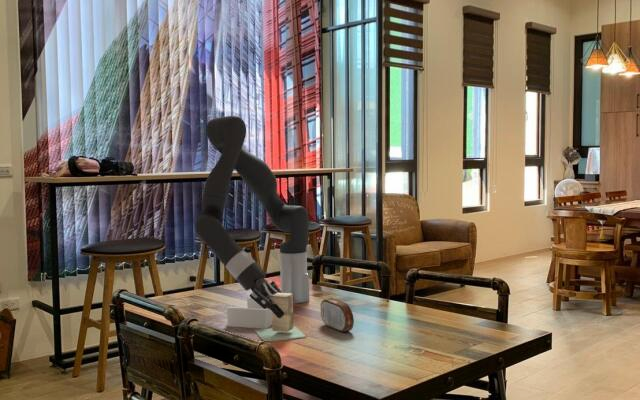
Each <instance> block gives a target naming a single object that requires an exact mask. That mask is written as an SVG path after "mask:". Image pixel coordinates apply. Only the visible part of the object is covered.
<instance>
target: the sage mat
mask: <svg viewBox="0 0 640 400" xmlns="http://www.w3.org/2000/svg"><path fill="white" fill-rule="evenodd" d="M254 332H255V333H256V335H257V336H258V338H259V339H260V340H261V341H262V340H263V341H268V342H278V341H285V340H286V341H287V340H296V339H306V338H307V336H306V335H305V334H304V333H303V332H302V331H301V330H300V329H299V328H298V327H296V326H295V325H293V329H291V330H290V331H288V332H280V331H273V327H272V328H270V327H268V328H267V329H260V328H258V329H254ZM263 341H262V342H263ZM268 342H267V343H268Z"/></svg>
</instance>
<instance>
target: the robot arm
mask: <svg viewBox="0 0 640 400" xmlns="http://www.w3.org/2000/svg"><path fill="white" fill-rule="evenodd" d="M205 133H206V137H207V139H208V141H209V142H210V144H211V145H212V146H213V147H214V149H216V150H217V151H218V153H219V154H220V157H219V158H218V160H217V162H216V164H215V165H214V166H213V168H212V170H211V171H210V172H209V174H208V177H207V178H206V181H205V184H204V187H203V191H202V197H201V212H200V216H199V217H198V218H196V220H195V222H194V223H195V224H194V231H195V233H196V235H197V239H199V241H201V242H202V243H204V244H206V245H207V246H208V247H209V248H210V249H211V250H212V252H213V253H214V255H215V256H216V257H217V259H218V260H219V261H220V263H221V264H223V266H224V267H225V268H226V269H227V270H228V272H229V274H230V275H231V276H232V277H233V278H234V279H235V280H236V281H237V282H238V284H239V285H240V286H241V287H242V288H243V290H245V291H250V290H251V293H249V297H251V298H252V299H253V300H254V301H255V302H257V303H258V304H259V305H260V306H261V307H263V308H264V309H266V308H268V309H270V310H271V311H272V312H273V313H274V314H275V315H276V316H277V317H278V318H281V317H282V316H283V315H284V312H283V311H282V310H281V309H280V307H279V306H278V305H277V304H275V302H274V300H273V299H272V296H273V295H275V294H276V293H293V304H301V303H307V302H310V274H309V273H308V263H307V262H308V261H307V260H308V259H307V258H308V257H307V256H308V255H307V254H308V253H307V251H308V250H307V247H308V243H309V227H310V226H309V225H310V222H309V221H310V220H309V219H310V218H309V212H308V210H307V208H305V207H304V206H302V205H287V204H286V203H284V201H283V200H282V199H281V198H280V196H279V194H278V181H277V178H276V175H275V174H274V172H273V171H272V170H271V168H270V167H269V165H268V164H267V163H266V161H264V160H263V159H261V158H259V157H258V156H256V155H254V154H253V153H251V152H250V151H247V149H245V148H243V146H244V143H245V139H246V137H247V125H246V122H245V121H244V120H243V118H242V117H240V116H239V115H228V116H227V115H226V116H220V117H215V118H213V119H210V120H209V121H208V122H207V124H206V126H205ZM234 170H235V171H236V173H237V174H238V175H239V176H240V178H241V180H243V181H244V183H245V185H246V186H247V187H248V189H250V192H252V193H253V195H254V196H255V197H256V199H257V200H258V202H259V203H260V204H261V205H262V207H263V208H264V209H265V211H266V213H267V214H268V216H269V217H270V220H271V221H272V223H273V224H274V226H275V227H276V228H277V229H278V230H279V231H281V232H284V233H289V239H288V240H287V241H284V242H282V243H280V245H279V261H280V262H279V266H280V268H279V269H280V288H279V286H278V285H277V283H276V282H275V281H273V280H272V281H271V282H269V281H268V280H266V279H265V278H264V277H265V276H266V272H265V270H263V268H262V267H261V266H260V265H259V263H257V262H256V261H255V259H254V258H253V257H252V256H251V255H250V254H248V253H247V252H246V251H245V250H244V249H243V248H242V247H241V245H239V243H238V242H236V241H235V240H234V239H233V238H232V237H231V235H230V233H228V231H227V230H226V229H225V226H223V220H224V211H225V207H226V202H227V197H228V191H229V187H230V183H231V179H232V176H233V172H234Z"/></svg>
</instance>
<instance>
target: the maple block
mask: <svg viewBox="0 0 640 400" xmlns="http://www.w3.org/2000/svg"><path fill="white" fill-rule="evenodd" d="M272 299H273V300H274V302H275V304H277V305H278V306H279V307H280V309H281V310H282V311H283V312H284V315H283V316H282V317H281V318H278V317H277V316H276V315H275V314H274V313H273V312H272V323H273V325H272V328H273V331H280V332H288V331H290V330H291V329H293V326H294V303H293V293H276V294H275V295H273V296H272Z"/></svg>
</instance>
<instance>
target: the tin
mask: <svg viewBox="0 0 640 400" xmlns="http://www.w3.org/2000/svg"><path fill="white" fill-rule="evenodd" d="M320 314H321V315H320V316H321V320H322V322H323V323H324V324H325V326H327V327H328V328H332V329H333V330H335V331H338V332H340V333H344V332H350V331H352V330H353V327H354V324H355V323H354V321H355V319H354V314H353V311H352V309H351V306H349V304H348V303H347V302H344V301H342V300H339V299H336V298H334V297H329V298H326V299H323V300H322V301H321V302H320Z"/></svg>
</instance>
